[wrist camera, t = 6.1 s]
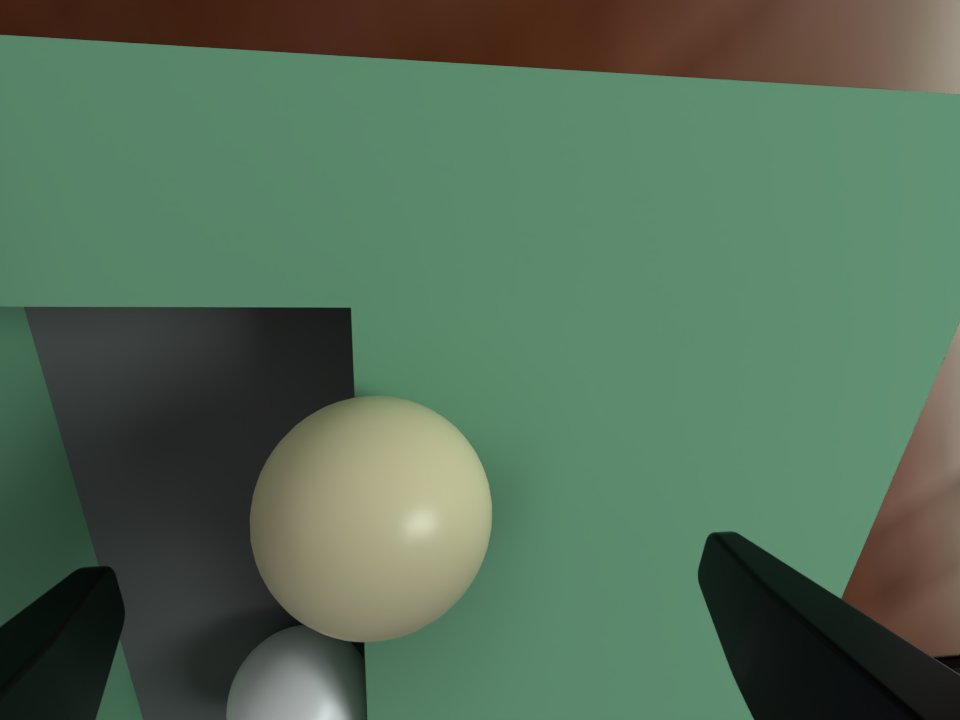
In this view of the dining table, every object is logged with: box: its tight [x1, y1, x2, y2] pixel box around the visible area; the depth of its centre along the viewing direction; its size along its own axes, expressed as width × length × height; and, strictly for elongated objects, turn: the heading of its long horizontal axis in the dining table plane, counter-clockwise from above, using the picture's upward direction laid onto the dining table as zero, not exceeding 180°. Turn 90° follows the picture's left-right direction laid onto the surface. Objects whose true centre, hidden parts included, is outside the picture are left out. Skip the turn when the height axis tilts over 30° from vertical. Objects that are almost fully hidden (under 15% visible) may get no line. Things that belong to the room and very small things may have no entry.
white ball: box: [226, 625, 367, 720], centre depth 18 cm, size 4×4×4 cm
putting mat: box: [0, 35, 960, 720], centre depth 16 cm, size 21×22×4 cm
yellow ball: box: [250, 396, 492, 642], centre depth 10 cm, size 4×4×4 cm
